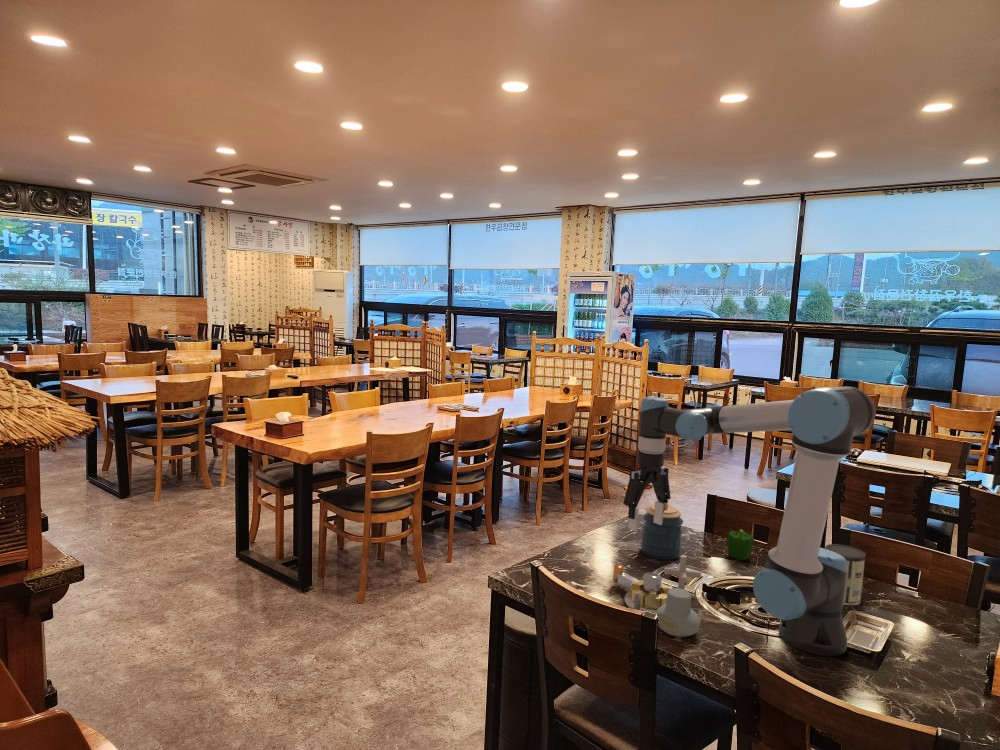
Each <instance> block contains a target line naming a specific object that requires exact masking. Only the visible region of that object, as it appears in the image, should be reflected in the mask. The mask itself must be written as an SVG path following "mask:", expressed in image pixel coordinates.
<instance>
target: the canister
mask: <svg viewBox="0 0 1000 750" xmlns="http://www.w3.org/2000/svg"><path fill="white" fill-rule="evenodd" d="M654 509H655V504H653V505H651V506H648V507H646V509H645V511H646V513H644V514H643V515H642V519H643V521H644V522H643V524H642V533H641V535H642V536H641V542H640V547H641V553H643V554H644V555H646V556H648V557H650V558H653V559H656V560H665V561H666V560H667V561H671V560H676V559H678V558H680V556H681V555H680V554H681V552H682V535H683V529H682V525H683V524H684V520H683V518H682V517H681V516H682V513H681V511H679V510H678V509H677V508H676V507H674V506H672V505H669V502H668V503H665V506H664V513H663V521H662V525H659V524H656V523H654Z"/></svg>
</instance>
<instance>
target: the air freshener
mask: <svg viewBox="0 0 1000 750" xmlns="http://www.w3.org/2000/svg"><path fill="white" fill-rule="evenodd" d="M692 596H693V595H692V594H691V592H689V591H688V590H686V589H684V590H683V589H679V588H678V587H676V588H675V587H674V588H673V587H672V589H670V590H668V592H667V602H666V604H665V605H662V606H661V607H659V608H658V609H657V611H656V613H655V614H657V616H658V620H659V626H658V627H659V628H660V629H661V630H662V631H663V632H665V633H666V634H668V635H670V636H674V637H679V638H684V637H685V638H686V637H690V636H693V635H695V634H696V633H697V632H698V631H699V629H700V626H701V619H700V617H699V615H698V614H697V613H696V611H694V609H692Z"/></svg>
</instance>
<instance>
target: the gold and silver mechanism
mask: <svg viewBox="0 0 1000 750" xmlns="http://www.w3.org/2000/svg"><path fill="white" fill-rule="evenodd" d="M662 579H663V577H662V575H660V574H658V573H656V572H652V571H651V572H645V573H644V574H643V579H642V580H643V590H642V591H643V592H644V593H646V594H649V590H653V591H656V595H660V593H661V583H662V581H663V580H662ZM630 591H631V590H628V592H626V593H625V595H624V603H626V604H625V605H626V607H627V608H629V607H630V608H634V609H637V610H644V611H649V612H654V613H656V611H657V609H653V608H646V607H644V606H640V603H641V595H640V594H635V598H634V602H633V601H632V600H631V599H630ZM630 608H629V609H630Z"/></svg>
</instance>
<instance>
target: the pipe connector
mask: <svg viewBox="0 0 1000 750" xmlns="http://www.w3.org/2000/svg"><path fill="white" fill-rule="evenodd" d="M679 558H680V559H679V563H678V564H677V568H673V567H666V566H665V567H664V571H663V572H664V575H670V576H671V575H673V576H678V584H677V588H679V589H683V590H685V586H686V583H688V578H696V579H701V578H702V572H701V571H698V570H691V569H690V570H689V569H687V565H688V563H687V562H688V556H687V555H684V554H681V555H680V556H679Z"/></svg>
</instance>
